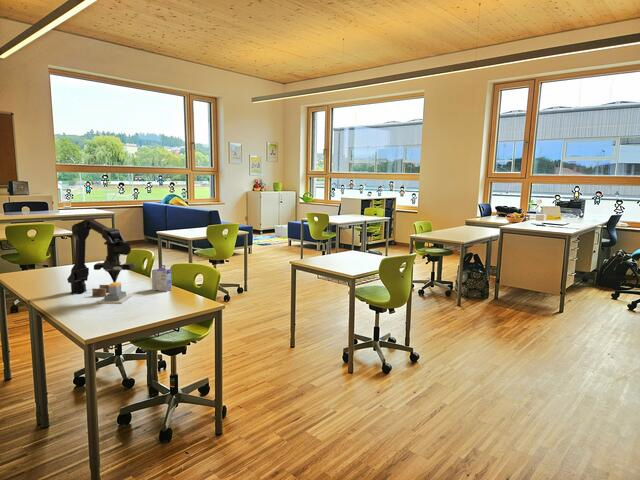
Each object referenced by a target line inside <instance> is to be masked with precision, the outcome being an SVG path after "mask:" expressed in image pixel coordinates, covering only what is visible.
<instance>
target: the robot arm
mask: <svg viewBox="0 0 640 480" xmlns="http://www.w3.org/2000/svg"><path fill="white" fill-rule="evenodd" d="M91 230H92V231H94V232H96V233H97V234H100V235H101V237H102V238H103V239H104V240H105V242H104V243H103V245H106V257H105V260H104V261H103V262H97V263H95V264H94V265H93V270H94V271H95V270H96V271H100V270H101V269H103V270H104V271H105V272H107V273H108V274H109V276H110V279H111V280H112V283H113V282H117V280H118V278H119V275H120V273H121V271H130V270H132V269H134V268H135V266H134V263H133V262H125V263H123V264H122V263H121V261H120V257H121V255H122V256H128V255H129V254H130V253H131V246H130V245H129V244H128V242H127V241H125V239H124V237H123V234H122V233H121V232H120V230H119V229H117V228H114V227H107V226H106V225H104V224H103V223H101V222H99V221H97V220H96V219H94V218H86V219H84V220H82V221H79V222H77V223H74V224H73V225H71V235H72V236H73V238H74V239H75V240H74V241H75V242H74V245H75V246H74V265H73V267H71V270H70V274H69V276H68V277H67V279H66V280H67V282H68V284H70V289H71V291H70V292H69V294H71V295H72V294H79V295H81V294H83V293H85V292H87V291H88V290H87V284H86V281H88V277H89V275H90V271H89V270H90V269H89V267H87V265H86V240H87V238H88V237H89V235H90V231H91Z"/></svg>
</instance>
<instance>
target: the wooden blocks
mask: <svg viewBox="0 0 640 480" xmlns="http://www.w3.org/2000/svg"><path fill="white" fill-rule="evenodd" d="M109 285H110V284H99V288H92V290H91V291H92V296H93V297H104V296H105V295H107V293H109Z"/></svg>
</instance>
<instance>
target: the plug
mask: <svg viewBox="0 0 640 480" xmlns="http://www.w3.org/2000/svg"><path fill="white" fill-rule="evenodd" d="M108 285H109V292H108V294H109V296H118V295H119V294H121V293H122V292H123V291H122V282H121V281H120V282H119V281H118V282H117V281H116V282H113V281H112V283H110V284H108Z"/></svg>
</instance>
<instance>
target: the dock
mask: <svg viewBox="0 0 640 480" xmlns="http://www.w3.org/2000/svg"><path fill="white" fill-rule="evenodd" d="M121 292H122V293H121V294H119V295H118V296H109V293H106V295H105V296H103V298H102V299H101V300H99V301H98V302H97V304H106V305H107V304H109V305H111V304H121V305H122V304H123V303H125V302H126V301H128V300H129V299H130V298H132V297H133V294H127V291H121Z"/></svg>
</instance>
